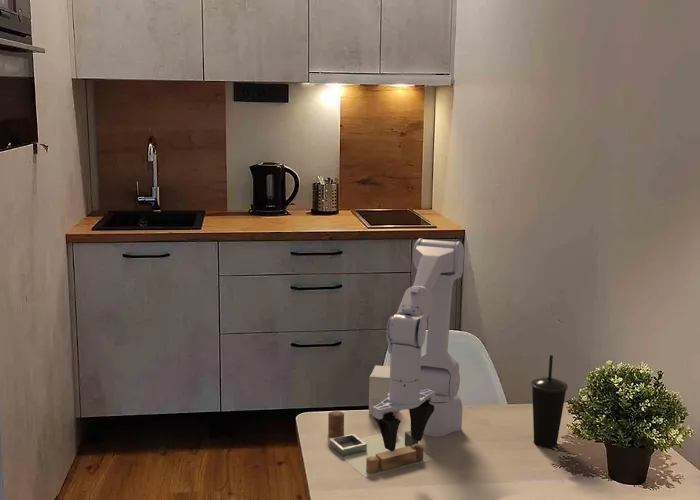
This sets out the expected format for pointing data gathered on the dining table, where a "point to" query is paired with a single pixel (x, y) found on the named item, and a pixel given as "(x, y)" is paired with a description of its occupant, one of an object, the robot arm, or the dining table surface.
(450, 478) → the dining table surface
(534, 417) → the drinking cup
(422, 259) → the robot arm
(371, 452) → the seat board
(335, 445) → the socket
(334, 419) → the loose leg
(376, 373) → the small box
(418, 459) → the folding leg
